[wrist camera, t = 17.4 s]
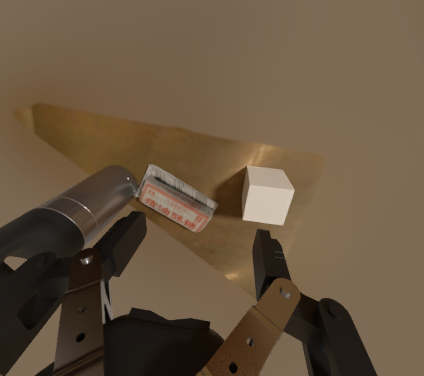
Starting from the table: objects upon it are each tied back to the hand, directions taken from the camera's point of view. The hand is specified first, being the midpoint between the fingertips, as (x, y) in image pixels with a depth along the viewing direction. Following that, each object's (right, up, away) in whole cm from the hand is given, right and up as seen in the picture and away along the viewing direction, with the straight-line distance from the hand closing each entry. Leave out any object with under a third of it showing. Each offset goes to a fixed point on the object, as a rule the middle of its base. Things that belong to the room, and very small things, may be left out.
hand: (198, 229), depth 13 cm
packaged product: (-7, +1, +31) cm, 32 cm away
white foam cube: (+11, +4, +26) cm, 29 cm away
